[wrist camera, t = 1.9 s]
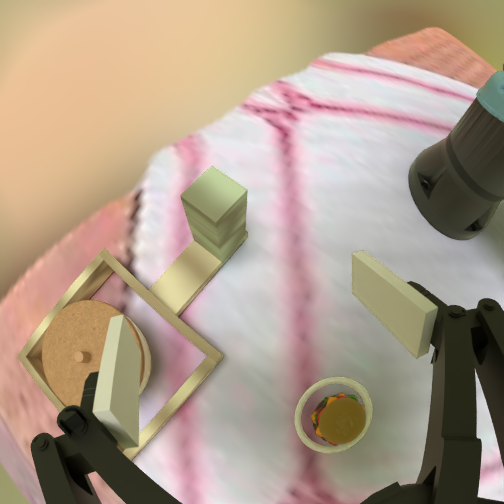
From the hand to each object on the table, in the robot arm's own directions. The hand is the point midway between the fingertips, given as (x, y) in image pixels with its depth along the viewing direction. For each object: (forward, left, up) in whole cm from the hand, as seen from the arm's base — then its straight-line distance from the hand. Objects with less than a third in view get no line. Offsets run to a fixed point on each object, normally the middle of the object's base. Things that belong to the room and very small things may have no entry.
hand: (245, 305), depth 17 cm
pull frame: (+5, -9, -17) cm, 20 cm away
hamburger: (+1, +14, -18) cm, 22 cm away
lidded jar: (+11, -9, -17) cm, 22 cm away
